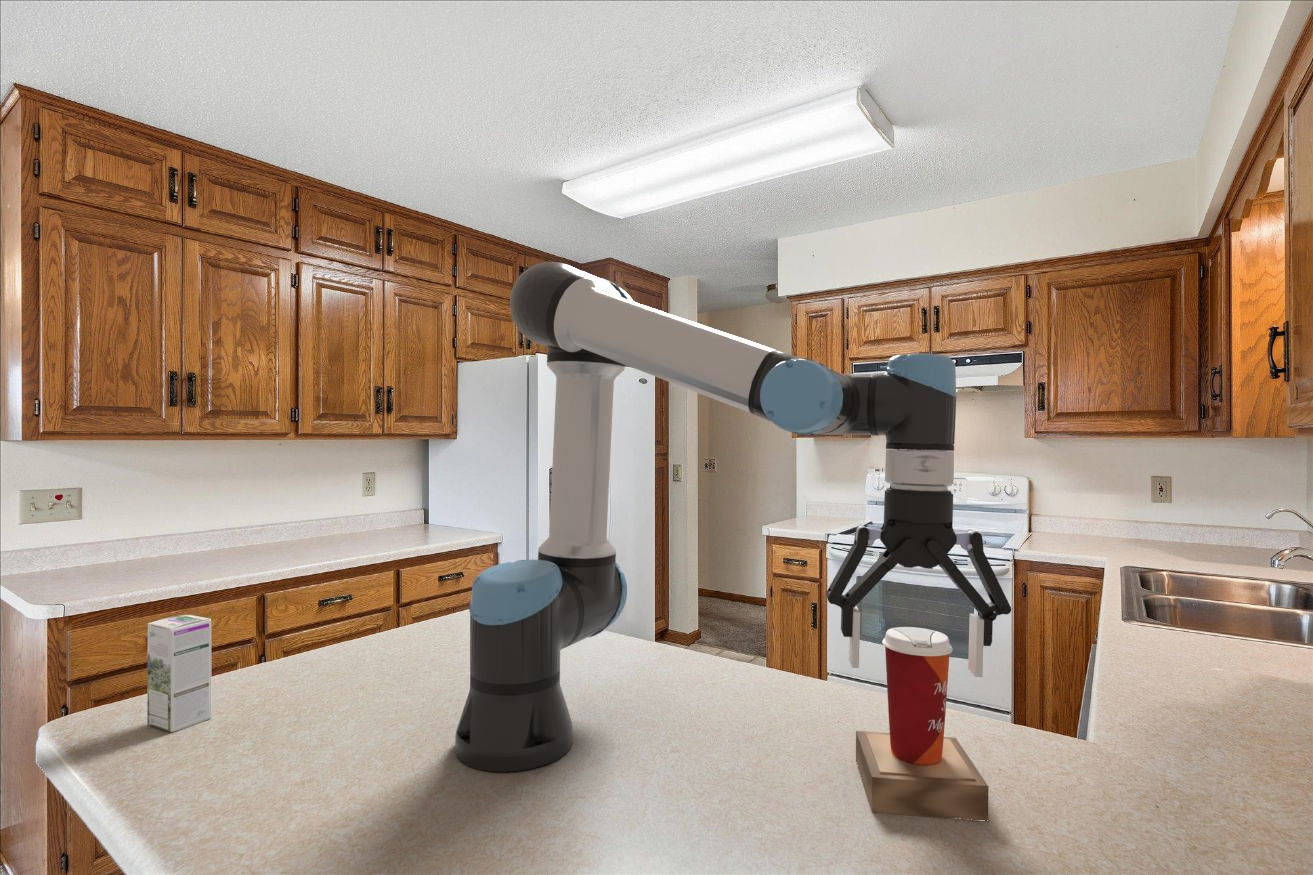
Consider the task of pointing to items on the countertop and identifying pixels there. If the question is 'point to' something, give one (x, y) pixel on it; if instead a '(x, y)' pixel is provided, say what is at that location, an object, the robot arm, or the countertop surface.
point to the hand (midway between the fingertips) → (913, 668)
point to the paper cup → (917, 692)
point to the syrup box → (178, 672)
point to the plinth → (920, 781)
